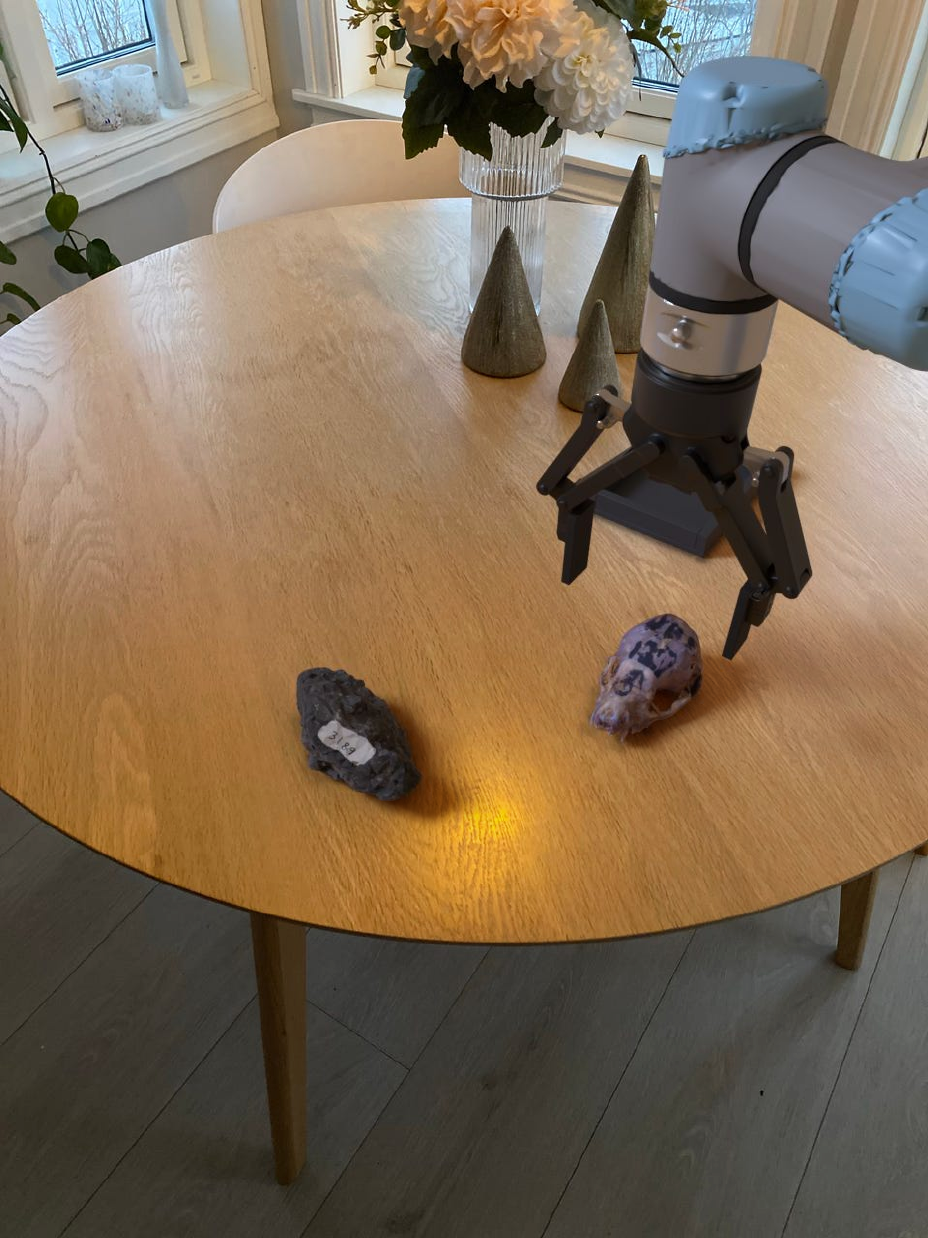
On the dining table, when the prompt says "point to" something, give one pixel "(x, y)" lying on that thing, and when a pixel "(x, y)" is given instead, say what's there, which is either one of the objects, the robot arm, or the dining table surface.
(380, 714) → the rock
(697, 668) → the skull
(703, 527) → the tray
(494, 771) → the dining table surface
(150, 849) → the dining table surface
